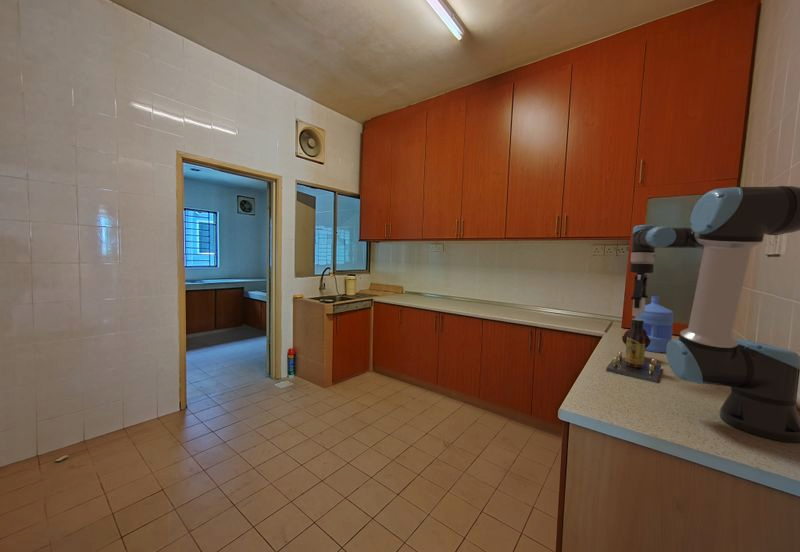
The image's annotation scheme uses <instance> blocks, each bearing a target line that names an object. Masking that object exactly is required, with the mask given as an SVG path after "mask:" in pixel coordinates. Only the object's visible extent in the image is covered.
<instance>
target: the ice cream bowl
mask: <svg viewBox="0 0 800 552" xmlns="http://www.w3.org/2000/svg"><path fill="white" fill-rule="evenodd" d="M630 330H631V328H630V329H627V330H626V331H625V332H624V333H623V335H622V337H621V339H622V342H623V344H624V345H625V346H626V342H627V336H628V334H629V332H630ZM643 333H644V335H645V348H647V347H648V346H649V344H650V342H651V340H649V337H648V336H647V332H646V331H645V330H644V329H643Z"/></svg>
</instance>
